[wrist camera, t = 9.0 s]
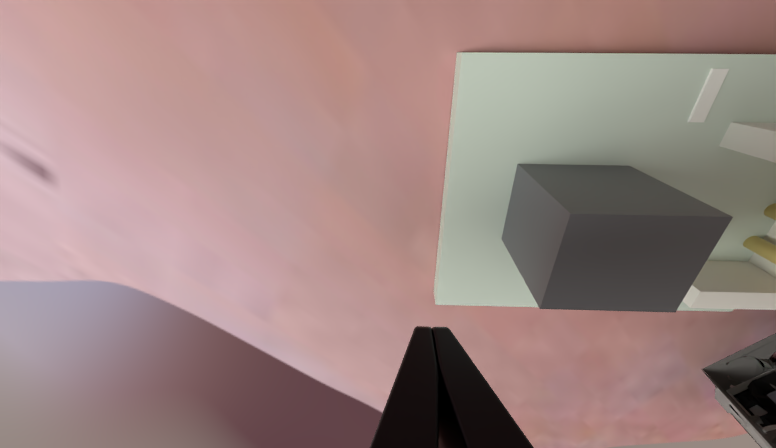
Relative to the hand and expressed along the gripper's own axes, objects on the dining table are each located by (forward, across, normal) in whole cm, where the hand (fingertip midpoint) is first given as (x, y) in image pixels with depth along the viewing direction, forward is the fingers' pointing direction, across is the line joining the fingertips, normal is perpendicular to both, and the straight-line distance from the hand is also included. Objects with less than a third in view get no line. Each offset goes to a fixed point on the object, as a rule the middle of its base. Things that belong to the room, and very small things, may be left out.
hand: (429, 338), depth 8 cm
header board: (+10, -10, 0) cm, 14 cm away
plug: (+8, -7, 0) cm, 11 cm away
